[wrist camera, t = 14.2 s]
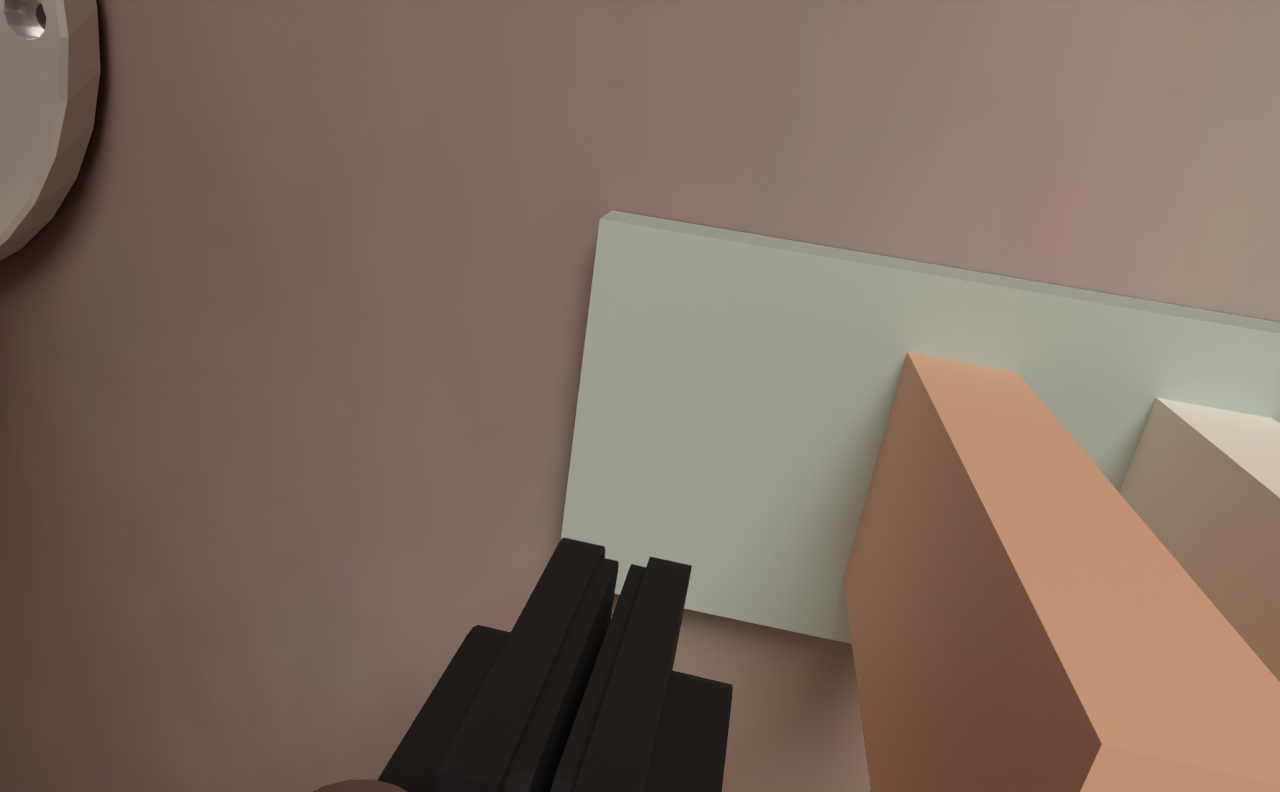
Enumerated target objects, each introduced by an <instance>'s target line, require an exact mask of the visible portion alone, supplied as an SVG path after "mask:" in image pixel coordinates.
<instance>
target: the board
mask: <svg viewBox="0 0 1280 792" xmlns="http://www.w3.org/2000/svg"><path fill="white" fill-rule="evenodd" d="M908 352H910V353H915V354H920V355H926V356H931V357H936V358H941V359H946V360H952V361H957V362H962V363H967V364H973V365H978V366H983V367H988V368H994V369H999V370H1004V371H1009V372H1015V373H1018V374H1019V375H1020V377H1021V378H1022V379H1023V380H1024V381H1025V383H1026V384H1027V385H1028V386H1029V387H1030V388H1031V390H1032V391H1033V392H1034V393H1035V394H1036V396H1037V397H1038V398H1039V399H1040V400H1041V401H1042V403H1043V404H1044V405H1045V406H1046V407H1047V408H1048V410H1049V411H1050V412H1051V413H1052V414H1053V416H1054V417H1055V418H1056V419H1057V420H1058V421H1059V423H1060V424H1061V425H1062V426H1063V427H1064V429H1065V430H1066V431H1067V432H1068V433H1069V434H1070V436H1071V437H1072V438H1073V439H1074V440H1075V441H1076V443H1077V444H1078V445H1079V446H1080V447H1081V449H1082V450H1083V451H1084V452H1085V453H1086V454H1087V456H1088V457H1089V458H1090V459H1091V460H1092V462H1093V463H1094V464H1095V465H1096V466H1097V467H1098V469H1099V470H1100V471H1101V472H1102V473H1103V474H1104V476H1105V477H1106V478H1107V479H1108V480H1109V482H1110V483H1111V484H1112V485H1113V486H1114V487H1115V489H1116V490H1117V491H1118V492H1119V491H1120V488H1121V486H1122V483H1123V481H1124V478H1125V476H1126V473H1127V470H1128V468H1129V465H1130V463H1131V460H1132V458H1133V455H1134V453H1135V450H1136V448H1137V445H1138V442H1139V440H1140V437H1141V435H1142V432H1143V430H1144V427H1145V425H1146V422H1147V420H1148V417H1149V414H1150V412H1151V409H1152V407H1153V404H1154V402H1155V399H1156V398H1161V399H1167V400H1172V401H1178V402H1183V403H1189V404H1195V405H1200V406H1206V407H1211V408H1217V409H1223V410H1228V411H1234V412H1239V413H1245V414H1251V415H1256V416H1262V417H1268V418H1273V419H1274V420H1276V421H1277V422H1279V423H1280V322H1274V321H1268V320H1262V319H1257V318H1251V317H1245V316H1239V315H1233V314H1227V313H1221V312H1215V311H1209V310H1203V309H1197V308H1191V307H1185V306H1179V305H1173V304H1167V303H1161V302H1155V301H1149V300H1143V299H1137V298H1131V297H1125V296H1119V295H1113V294H1107V293H1102V292H1096V291H1090V290H1084V289H1078V288H1072V287H1066V286H1060V285H1054V284H1048V283H1042V282H1036V281H1030V280H1024V279H1018V278H1012V277H1006V276H1000V275H994V274H988V273H982V272H976V271H970V270H964V269H958V268H953V267H947V266H941V265H935V264H929V263H923V262H917V261H911V260H905V259H899V258H893V257H887V256H881V255H875V254H869V253H863V252H857V251H851V250H845V249H839V248H833V247H827V246H821V245H815V244H809V243H803V242H798V241H792V240H786V239H780V238H774V237H768V236H762V235H756V234H750V233H744V232H738V231H732V230H726V229H720V228H714V227H708V226H702V225H696V224H690V223H684V222H678V221H672V220H666V219H660V218H654V217H648V216H643V215H637V214H631V213H625V212H619V211H613V210H612V211H610V212H609V213H607V214H606V215H605V216H603V217H602V218H600V222H599V230H598V238H597V246H596V255H595V263H594V271H593V279H592V287H591V296H590V304H589V312H588V320H587V328H586V337H585V345H584V353H583V361H582V369H581V378H580V386H579V394H578V402H577V411H576V419H575V427H574V435H573V443H572V452H571V460H570V468H569V476H568V484H567V493H566V501H565V509H564V517H563V525H562V534H561V539H562V538H569V539H573V540H578V541H583V542H587V543H592V544H596V545H601V546H605V558H606V559H611V560H616V561H618V562H619V567H618V574H617V581H616V587H615V594H618V595H620V593H621V590H622V588H623V585H624V582H625V579H626V576H627V574H628V571H629V568H630V566H631V564H634V565H638V566H643V567H647V564H648V561H649V558H650V557H655V558H660V559H664V560H669V561H673V562H678V563H683V564H687V565H692V569H691V574H690V580H689V585H688V590H687V596H686V601H685V606H684V609H689V610H694V611H698V612H703V613H708V614H712V615H717V616H722V617H727V618H731V619H736V620H741V621H745V622H750V623H755V624H759V625H764V626H769V627H774V628H778V629H783V630H788V631H792V632H797V633H802V634H807V635H811V636H816V637H821V638H825V639H830V640H835V641H839V642H844V643H849V644H852V642H851V635H850V627H849V620H848V612H847V605H846V597H845V589H844V582H843V577H844V574H845V570H846V567H847V563H848V560H849V556H850V553H851V549H852V546H853V542H854V539H855V535H856V532H857V528H858V525H859V521H860V518H861V514H862V511H863V507H864V504H865V500H866V497H867V493H868V490H869V486H870V483H871V479H872V476H873V472H874V469H875V465H876V462H877V458H878V455H879V451H880V448H881V444H882V441H883V437H884V434H885V430H886V427H887V423H888V420H889V416H890V413H891V409H892V406H893V402H894V399H895V395H896V391H897V388H898V384H899V381H900V377H901V374H902V370H903V367H904V363H905V360H906V356H907V353H908Z"/></svg>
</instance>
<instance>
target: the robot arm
mask: <svg viewBox="0 0 1280 792" xmlns="http://www.w3.org/2000/svg"><path fill="white" fill-rule="evenodd" d="M99 79H100V52H99V31H98V10H97V3H96V0H0V261H1V260H2V259H4V258H6V257H8V256H9V255H11V254H13V253H15V252H17V251H18V250H20V249H22V248H23V247H24V246H25V245H26V244H27V243H28V242H29V241H30V240H31V239H32V238H33V237H34V236H35V235H36V234H37V233H38V232H39V231H40V230H41V229H42V228H43V227H44V226H45V225H46V224H47V223H48V222H49V221H50V220H51V219H52V218H53V217H54V215H55V213H56V212H57V210H58V208H59V207H60V205H61V203H62V202H63V200H64V199H65V197H66V195H67V194H68V192H69V190H70V189H71V187H72V185H73V184H74V182H75V180H76V179H77V176H78V173H79V170H80V167H81V164H82V161H83V158H84V155H85V152H86V149H87V146H88V143H89V140H90V137H91V134H92V131H93V127H94V119H95V111H96V103H97V95H98V87H99ZM618 567H619V562H618V561H616V560H611V559H606V558H605V546H601V545H596V544H592V543H587V542H583V541H578V540H573V539H569V538H562V539H561V541H560V542H559V544H558V546H557V548H556V550H555V552H554V553H553V555H552V557H551V559H550V561H549V563H548V564H547V566H546V568H545V570H544V572H543V574H542V576H541V577H540V579H539V581H538V583H537V585H536V587H535V589H534V590H533V592H532V594H531V596H530V598H529V600H528V602H527V603H526V605H525V607H524V609H523V611H522V613H521V615H520V616H519V618H518V620H517V622H516V624H515V626H514V628H513V629H512V631H511V633H510V632H506V631H502V630H497V629H493V628H489V627H485V626H480V625H477V626H475V627H473V628H472V629H471V631H470V632H469V633H468V635H467V636H466V638H465V639H464V641H463V643H462V644H461V646H460V647H459V649H458V651H457V652H456V654H455V656H454V657H453V659H452V660H451V662H450V664H449V665H448V667H447V669H446V670H445V672H444V673H443V675H442V677H441V678H440V680H439V681H438V683H437V685H436V686H435V688H434V690H433V691H432V693H431V694H430V696H429V698H428V699H427V701H426V702H425V704H424V706H423V707H422V709H421V711H420V712H419V714H418V715H417V717H416V719H415V720H414V722H413V723H412V725H411V727H410V728H409V730H408V732H407V733H406V735H405V736H404V738H403V740H402V741H401V743H400V745H399V746H398V748H397V749H396V751H395V753H394V754H393V756H392V757H391V759H390V761H389V762H388V764H387V766H386V767H385V769H384V770H383V772H382V774H381V775H380V777H379V778H378V780H348V781H343V782H339V783H335V784H331V785H327V786H324V787H321V788H319V789H317V790H315V791H313V792H722V783H723V774H724V765H725V756H726V746H727V737H728V728H729V719H730V710H731V701H732V690H733V687H732V685H731V684H727V683H722V682H718V681H714V680H710V679H705V678H701V677H697V676H693V675H689V674H684V673H680V672H676V671H672V669H673V664H674V659H675V653H676V648H677V643H678V638H679V632H680V627H681V622H682V617H683V611H684V606H685V601H686V596H687V590H688V585H689V580H690V574H691V569H692V565H687V564H683V563H678V562H673V561H669V560H664V559H660V558H655V557H650V558H649V561H648V564H647V567H643V566H638V565H634V564H631V566H630V568H629V571H628V574H627V576H626V579H625V582H624V585H623V588H622V590H621V593H620V596H619V599H618V601H617V604H616V607H615V610H614V613H613V615H612V618H611V613H612V607H613V600H614V594H615V587H616V581H617V574H618ZM610 620H611V621H610Z"/></svg>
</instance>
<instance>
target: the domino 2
mask: <svg viewBox="0 0 1280 792" xmlns="http://www.w3.org/2000/svg"><path fill="white" fill-rule="evenodd" d="M1119 493H1120V495H1121V496H1122V497H1123V498H1124V499H1125V500H1126V502H1127V503H1128V504H1129V505H1130V506H1131V508H1132V509H1133V510H1134V511H1135V512H1136V513H1137V515H1138V516H1139V517H1140V518H1141V519H1142V520H1143V522H1144V523H1145V524H1146V525H1147V526H1148V528H1149V529H1150V530H1151V531H1152V532H1153V533H1154V535H1155V536H1156V537H1157V538H1158V539H1159V541H1160V542H1161V543H1162V544H1163V545H1164V546H1165V548H1166V549H1167V550H1168V551H1169V552H1170V553H1171V555H1172V556H1173V557H1174V558H1175V559H1176V561H1177V562H1178V563H1179V564H1180V565H1181V566H1182V568H1183V569H1184V570H1185V571H1186V572H1187V574H1188V575H1189V576H1190V577H1191V578H1192V579H1193V581H1194V582H1195V583H1196V584H1197V585H1198V586H1199V588H1200V589H1201V590H1202V591H1203V592H1204V594H1205V595H1206V596H1207V597H1208V598H1209V599H1210V601H1211V602H1212V603H1213V604H1214V605H1215V607H1216V608H1217V609H1218V610H1219V611H1220V612H1221V614H1222V615H1223V616H1224V617H1225V618H1226V620H1227V621H1228V622H1229V623H1230V624H1231V625H1232V627H1233V628H1234V629H1235V630H1236V631H1237V632H1238V634H1239V635H1240V636H1241V637H1242V638H1243V640H1244V641H1245V642H1246V643H1247V644H1248V645H1249V647H1250V648H1251V649H1252V650H1253V651H1254V653H1255V654H1256V655H1257V656H1258V657H1259V658H1260V660H1261V661H1262V662H1263V663H1264V664H1265V665H1266V667H1267V668H1268V669H1269V670H1270V671H1271V673H1272V674H1273V675H1274V676H1275V677H1276V678H1277V680H1278V681H1279V682H1280V423H1279V422H1277V421H1276V420H1274V419H1273V418H1268V417H1262V416H1256V415H1251V414H1245V413H1239V412H1234V411H1228V410H1223V409H1217V408H1211V407H1206V406H1200V405H1195V404H1189V403H1183V402H1178V401H1172V400H1167V399H1161V398H1156V399H1155V402H1154V404H1153V407H1152V409H1151V412H1150V414H1149V417H1148V420H1147V422H1146V425H1145V427H1144V430H1143V432H1142V435H1141V437H1140V440H1139V442H1138V445H1137V448H1136V450H1135V453H1134V455H1133V458H1132V460H1131V463H1130V465H1129V468H1128V470H1127V473H1126V476H1125V478H1124V481H1123V483H1122V486H1121V488H1120V491H1119Z"/></svg>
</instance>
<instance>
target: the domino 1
mask: <svg viewBox="0 0 1280 792" xmlns="http://www.w3.org/2000/svg"><path fill="white" fill-rule="evenodd" d="M843 582H844V589H845V597H846V605H847V612H848V620H849V627H850V635H851V642H852V650H853V657H854V665H855V673H856V680H857V688H858V695H859V703H860V710H861V718H862V725H863V733H864V741H865V748H866V756H867V763H868V771H869V778H870V786H871V792H1280V682H1279V681H1278V680H1277V678H1276V677H1275V676H1274V675H1273V674H1272V673H1271V671H1270V670H1269V669H1268V668H1267V667H1266V665H1265V664H1264V663H1263V662H1262V661H1261V660H1260V658H1259V657H1258V656H1257V655H1256V654H1255V653H1254V651H1253V650H1252V649H1251V648H1250V647H1249V645H1248V644H1247V643H1246V642H1245V641H1244V640H1243V638H1242V637H1241V636H1240V635H1239V634H1238V632H1237V631H1236V630H1235V629H1234V628H1233V627H1232V625H1231V624H1230V623H1229V622H1228V621H1227V620H1226V618H1225V617H1224V616H1223V615H1222V614H1221V612H1220V611H1219V610H1218V609H1217V608H1216V607H1215V605H1214V604H1213V603H1212V602H1211V601H1210V599H1209V598H1208V597H1207V596H1206V595H1205V594H1204V592H1203V591H1202V590H1201V589H1200V588H1199V586H1198V585H1197V584H1196V583H1195V582H1194V581H1193V579H1192V578H1191V577H1190V576H1189V575H1188V574H1187V572H1186V571H1185V570H1184V569H1183V568H1182V566H1181V565H1180V564H1179V563H1178V562H1177V561H1176V559H1175V558H1174V557H1173V556H1172V555H1171V553H1170V552H1169V551H1168V550H1167V549H1166V548H1165V546H1164V545H1163V544H1162V543H1161V542H1160V541H1159V539H1158V538H1157V537H1156V536H1155V535H1154V533H1153V532H1152V531H1151V530H1150V529H1149V528H1148V526H1147V525H1146V524H1145V523H1144V522H1143V520H1142V519H1141V518H1140V517H1139V516H1138V515H1137V513H1136V512H1135V511H1134V510H1133V509H1132V508H1131V506H1130V505H1129V504H1128V503H1127V502H1126V500H1125V499H1124V498H1123V497H1122V496H1121V495H1120V493H1119V492H1118V491H1117V490H1116V489H1115V487H1114V486H1113V485H1112V484H1111V483H1110V482H1109V480H1108V479H1107V478H1106V477H1105V476H1104V474H1103V473H1102V472H1101V471H1100V470H1099V469H1098V467H1097V466H1096V465H1095V464H1094V463H1093V462H1092V460H1091V459H1090V458H1089V457H1088V456H1087V454H1086V453H1085V452H1084V451H1083V450H1082V449H1081V447H1080V446H1079V445H1078V444H1077V443H1076V441H1075V440H1074V439H1073V438H1072V437H1071V436H1070V434H1069V433H1068V432H1067V431H1066V430H1065V429H1064V427H1063V426H1062V425H1061V424H1060V423H1059V421H1058V420H1057V419H1056V418H1055V417H1054V416H1053V414H1052V413H1051V412H1050V411H1049V410H1048V408H1047V407H1046V406H1045V405H1044V404H1043V403H1042V401H1041V400H1040V399H1039V398H1038V397H1037V396H1036V394H1035V393H1034V392H1033V391H1032V390H1031V388H1030V387H1029V386H1028V385H1027V384H1026V383H1025V381H1024V380H1023V379H1022V378H1021V377H1020V375H1019V374H1018V373H1015V372H1009V371H1004V370H999V369H994V368H988V367H983V366H978V365H973V364H967V363H962V362H957V361H952V360H946V359H941V358H936V357H931V356H926V355H920V354H915V353H910V352H908V353H907V356H906V360H905V363H904V367H903V370H902V374H901V377H900V381H899V384H898V388H897V391H896V395H895V399H894V402H893V406H892V409H891V413H890V416H889V420H888V423H887V427H886V430H885V434H884V437H883V441H882V444H881V448H880V451H879V455H878V458H877V462H876V465H875V469H874V472H873V476H872V479H871V483H870V486H869V490H868V493H867V497H866V500H865V504H864V507H863V511H862V514H861V518H860V521H859V525H858V528H857V532H856V535H855V539H854V542H853V546H852V549H851V553H850V556H849V560H848V563H847V567H846V570H845V574H844V577H843Z"/></svg>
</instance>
